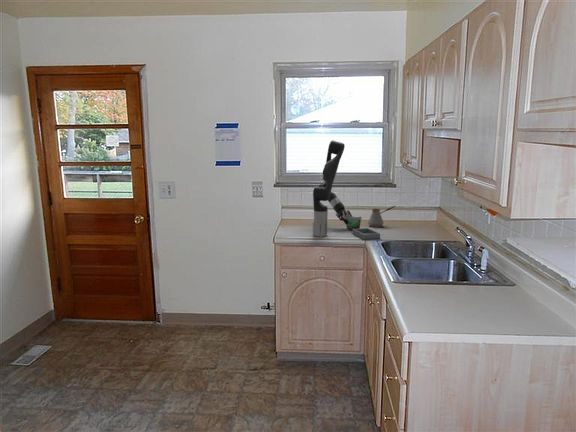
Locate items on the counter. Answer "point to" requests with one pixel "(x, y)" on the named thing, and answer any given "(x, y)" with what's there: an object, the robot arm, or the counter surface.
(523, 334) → the counter surface
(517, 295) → the counter surface
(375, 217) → the coffee pot
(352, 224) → the food container
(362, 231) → the tray
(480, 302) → the counter surface
